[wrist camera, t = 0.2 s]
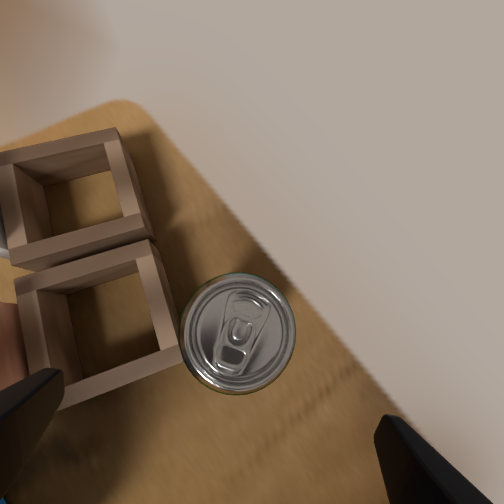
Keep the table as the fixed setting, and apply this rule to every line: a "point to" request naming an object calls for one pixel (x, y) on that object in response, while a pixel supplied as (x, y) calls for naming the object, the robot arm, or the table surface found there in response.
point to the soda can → (237, 333)
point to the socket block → (75, 264)
